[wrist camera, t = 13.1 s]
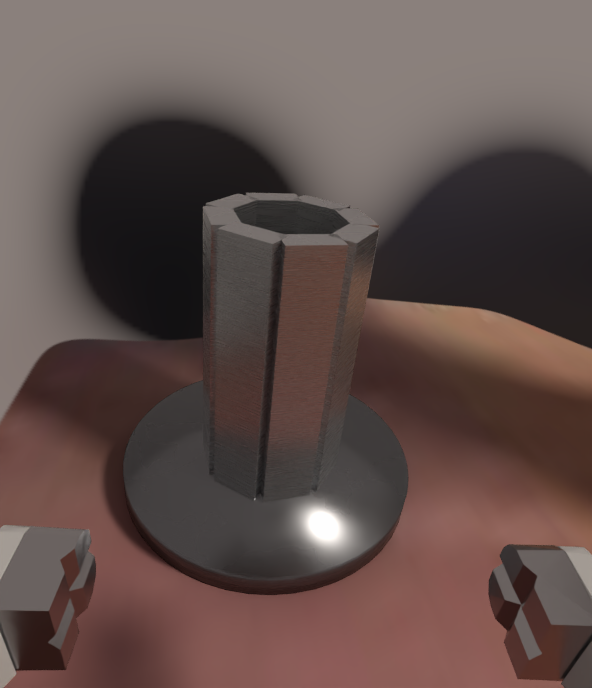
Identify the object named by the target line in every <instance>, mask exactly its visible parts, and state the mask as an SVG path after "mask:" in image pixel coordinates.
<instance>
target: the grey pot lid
mask: <svg viewBox="0 0 592 688" xmlns="http://www.w3.org/2000/svg"><path fill="white" fill-rule="evenodd" d="M123 477H124V486H125V494H126V500H127V506H128V509H129V512H130V515H131V518H132V520H133V523H134V524H135V526H136V528H137V530H138V531H139V533H140V535H141V536H142V538H143V539H144V540H145V541H146V542H147V544H148V545H149V546H150V547H151V548H152V550H153V551H155V552H156V553H157V554H158V555H159V556H160V557H161V558H163V559H164V560H165V561H166V562H167V563H169V564H170V565H172V566H173V567H175V568H176V569H178V570H179V571H181V572H183V573H184V574H186V575H188V576H190V577H193V578H195V579H197V580H199V581H201V582H203V583H206V584H209V585H213V586H216V587H219V588H222V589H225V590H231V591H236V592H242V593H248V594H264V595H277V594H291V593H298V592H303V591H308V590H313V589H317V588H320V587H323V586H326V585H329V584H332V583H335V582H337V581H339V580H341V579H343V578H345V577H347V576H349V575H351V574H353V573H355V572H356V571H358V570H359V569H360V568H362V567H363V566H365V565H366V564H368V563H369V562H370V561H371V560H372V559H373V558H374V557H375V556H376V555H377V554H378V553H379V552H380V551H381V550H382V549H383V548H384V546H385V545H386V544H387V542H388V541H389V540H390V538H391V537H392V535H393V533H394V531H395V529H396V527H397V525H398V522H399V519H400V515H401V512H402V508H403V505H404V502H405V498H406V495H407V489H408V469H407V463H406V459H405V456H404V452H403V450H402V448H401V446H400V443H399V441H398V440H397V438H396V436H395V435H394V433H393V432H392V430H391V429H390V428H389V426H388V425H387V424H386V423H385V422H384V421H383V419H382V418H381V417H379V416H378V415H377V414H376V413H375V412H374V411H373V410H372V409H371V408H369V407H368V406H367V405H365V404H364V403H363V402H361V401H360V400H358V399H356V398H355V397H353V396H352V395H350V394H349V397H348V402H347V408H346V413H345V419H344V424H343V430H342V435H341V441H340V446H339V452H338V457H337V462H336V464H335V466H334V467H333V469H332V470H331V471H330V473H329V474H328V476H327V477H326V479H325V480H324V482H323V483H322V484H321V486H320V487H319V489H318V490H317V491H315V490H313V489H311V491H310V495H308V496H301V497H295V498H289V499H283V500H277V501H271V502H264V503H263V501H262V497H261V494H260V495H259V496H258V497H257V498H256V499H255V501H252V500H250V499H248V498H247V497H245V496H243V495H241V494H239V493H237V492H235V491H233V490H231V489H229V488H227V487H225V486H223V485H221V484H219V483H217V482H215V481H214V475H209V471H208V466H207V461H206V456H205V451H204V445H203V380H202V381H199V382H196V383H193V384H191V385H189V386H186V387H184V388H182V389H180V390H178V391H176V392H174V393H173V394H171V395H169V396H168V397H166V398H165V399H163V400H162V401H161V402H159V403H158V404H157V405H155V406H154V407H153V408H152V409H151V410H150V411H149V412H148V413H147V414H146V415H145V416H144V417H143V419H142V420H141V421H140V422H139V423H138V425H137V427H136V428H135V430H134V431H133V433H132V435H131V437H130V440H129V442H128V444H127V447H126V451H125V456H124V462H123Z"/></svg>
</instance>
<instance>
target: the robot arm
mask: <svg viewBox="0 0 592 688" xmlns="http://www.w3.org/2000/svg"><path fill="white" fill-rule="evenodd" d="M90 544H91V537H90V533H89V530H85V529H68V528H51V527H34V526H14V525H3V526H2V527H1V528H0V688H4V687H5V686H6V684H7V683H8V682H9V681H10V680H11V679H12V678H13V677H14V676H15V675H16V671H20V670H66V669H67V666H68V663H69V660H70V657H71V654H72V651H73V648H74V646H75V643H76V640H77V637H78V634H79V629H78V624H77V620H76V618H77V617H78V616H79V615H80V614H81V613H82V612H84V611H85V610H86V609H87V608H88V605H89V602H90V599H91V596H92V593H93V587H94V582H95V577H96V563H95V557H94V555H92V554H91V553H90V552H89V551H88V549H89V546H90ZM500 558H501V560H502V562H503V564H501V565H500V566H498V567H497V568H495V569H494V570H493V571H492V574H491V576H490V579H489V599H490V604H491V608H492V611H493V614H494V616H495V619H496V620H497V621H498V622H499V623H500V624H501V625H502V626H503V627H504V628H505V629H506V630H507V634H506V637H505V640H504V644H505V646H506V649H507V652H508V654H509V657H510V660H511V662H512V665H513V668H514V670H515V673H516V676H517V678H518V679H530V680H550V681H562V683H561V684H562V685H563V686H564V688H592V555H591V554H590V552H589V551H587V550H586V549H585V548H584V547H569V546H555V545H514V544H509V545H507V546H505V547H504V548H503V550H502V552H501V554H500Z"/></svg>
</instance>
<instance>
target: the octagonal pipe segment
mask: <svg viewBox="0 0 592 688" xmlns="http://www.w3.org/2000/svg"><path fill="white" fill-rule="evenodd" d="M378 233H379V225H378V224H377V223H375V222H374V221H373V220H371V219H370V218H369V217H367V215H365V214H364V213H363V212H361V211H360V210H359V209H357V208H350V205H345V204H341V203H337V202H333V201H328V200H324V199H320V198H315V197H311V196H307V195H304V196H301V197H298V196H297V195H296V194H281V193H280V194H279V193H246V196H245V195H242V194H235V195H232V196H229V197H226V198H222V199H219V200H216V201H213V202H209V203H206V206H203V445H204V451H205V456H206V461H207V466H208V471H209V475H214V481H215V482H217V483H219V484H221V485H223V486H225V487H227V488H229V489H231V490H233V491H235V492H237V493H239V494H241V495H243V496H245V497H247V498H248V499H250V500H252V501H255V499H256V498H257V497H258V496H259V495H260V494H261V497H262V501H263V503H264V502H271V501H277V500H283V499H289V498H295V497H301V496H308V495H310V491H311V489H313V490H315V491H317V490H318V489H319V487H320V486H321V484H322V483H323V482H324V480H325V479H326V477H327V476H328V474H329V473H330V471H331V470H332V469H333V467H334V466H335V464H336V462H337V457H338V452H339V446H340V441H341V435H342V430H343V424H344V419H345V413H346V408H347V402H348V397H349V392H350V386H351V381H352V375H353V370H354V364H355V359H356V353H357V348H358V342H359V337H360V332H361V326H362V321H363V315H364V310H365V304H366V299H367V293H368V287H369V282H370V277H371V272H372V266H373V260H374V254H375V250H376V244H377V239H378Z"/></svg>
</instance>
